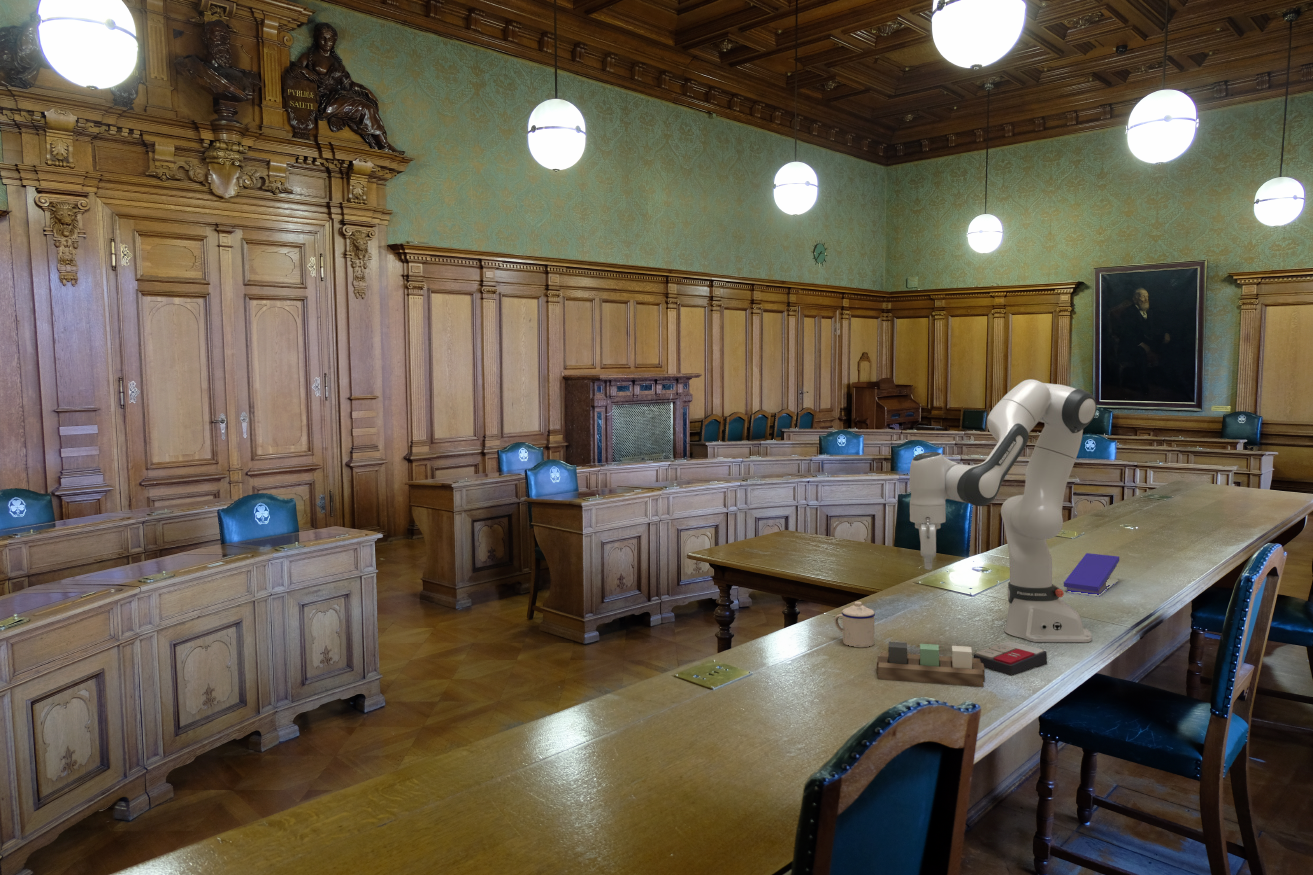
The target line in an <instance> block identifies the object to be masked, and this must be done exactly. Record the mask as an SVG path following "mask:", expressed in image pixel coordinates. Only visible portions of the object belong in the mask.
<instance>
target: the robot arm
mask: <svg viewBox="0 0 1313 875" xmlns="http://www.w3.org/2000/svg"><path fill="white" fill-rule="evenodd" d="M1097 410H1098V409H1097V402H1096V399H1095V396H1094V395H1093V394H1092V393H1091V392H1089V391H1087V390H1084V389H1081V388H1075V387H1072V386H1068V385H1065V384H1059V383H1057V384H1056V383H1047V382H1042V381H1039V380H1037V379H1025V380H1023V381H1021V382H1019V383H1018V384H1017V385H1016V386H1014V387H1013V388H1012V389H1010V390H1009V391H1008V392H1007V393H1006V394H1004V396H1003V397H1002V398H1001V399H1000V400H999V401H998V402H997V403H996V404H995V405H994V407H992V409H991V411H990V412H989V414H988V416H987V419H986V424H987V429H988V431H989V433H990V434H991V436H993V438H994V439H995V440H996V441H997V444H996V445H995V446H994V448H993V449H992V451H991V452H990V453H989V455H988V456H987V457H986V459H985V460H984V461H983V462H982V463H979V464H974V465H969V464H962V463H958V462H955V461H952V460H950V459H948V458H947V457H945V456H944V455H943V454H942V453H941V452H939V451H928V452H921V453H918V454H916V455H915V456H913V458H912V460H911V462H910V467H909V489H910V490H909V491H910V494H911V495H910V499H909V500H910V501H909V521H910V522H911V523H914V527H915V529H918V533H919V541H920V556H921V557H923V559H924V560H923V561H924V569H925V570H932V569H933V557H936V555H937V530H939V529H941V524H943V523H946V521H947V520H946V516H947V514H946V500H951V501H956V502H960V503H966V504H969V505H972V506H976V507H985V506H987V505H990V504H991V503H993V501H994V500H995V499H996V498H997V496H998V494H999V492H1000V490H1001V486H1002V484H1003V482H1004V480H1005V478H1006V477H1007V475H1008V474H1009V472H1010V471H1011V469H1012V468H1013V466H1014V465H1015V463H1016V462H1017V460H1018V459H1019V458H1020V456H1021V454H1022V453H1023V451H1024V450H1025V448H1026V446H1027V444H1028V442H1029V439H1030V432H1031V431H1032V430H1033V429H1034V428H1035V427H1036V425H1037V424H1038V423H1039V422H1041V423H1044V426H1043V428H1042V430H1041V432H1040V434H1039V436H1038V438H1037V440H1036V443H1035V444H1034V448H1033V451H1032V453H1031V456H1030V457H1029V461H1028V463H1027V466H1026V469H1025V472H1024V474H1025V482H1024V483H1025V484H1024V491H1023V494H1018V495H1014V496H1011V497H1008V498H1007V499H1006V500H1005V501H1004V502H1003V503H1002V505H1001V508H1000V515H1001V519H1002V521H1003V527H1004V533H1005V539H1006V543H1007V547H1008V548H1007V550H1008V557H1009V558H1008V559H1009V582H1008V583H1007V585H1008V586H1007V600H1008V608H1007V617H1006V622H1005V626H1004V628H1003V631H1004V632H1005V633H1006V634H1008V635H1011V636H1014V637H1015V638H1017V637H1018V638H1020V639H1024V640H1027V641H1030V642H1034V643H1089V642H1091V641H1092V640H1093V636H1092V633H1091V631H1090V630H1089V629H1087V628H1086V627H1084V626H1083V621H1082V618H1081V615H1080V614H1079V613H1078V611H1076V609H1074V608H1073V607H1072V606H1070V605H1069V604H1068V603H1067V602H1065V601H1064V600H1062V599H1061V598H1063V596H1065V593H1064V591H1063V590H1062V589H1061V588H1059V587H1058V586H1057V585H1054V584H1053V557H1052V554H1051V552H1050V549H1049V546H1048V543H1047V542H1048V541H1047V540H1050V539H1051V540H1052V539H1053V538H1055V537H1057V536H1058V535H1059V534H1060V532H1061V530H1062V529H1063V525H1064V519H1063V514H1062V513H1063V512H1062V511H1063V506H1064V498H1065V492H1066V487H1067V484H1068V481H1069V479H1070V478H1069V477H1070V475H1071V472H1072V470H1073V467H1074V464H1075V462H1076V460H1077V456H1078V454H1079V451H1080V448H1081V444H1082V440H1083V434H1084V433H1083V432H1084V429H1085V428H1086V427H1087V426H1088V425H1089V424H1090V423H1091V422H1092V421H1093V419H1094V418H1095V416H1096V413H1097Z"/></svg>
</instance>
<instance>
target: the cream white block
mask: <svg viewBox="0 0 1313 875" xmlns="http://www.w3.org/2000/svg"><path fill="white" fill-rule="evenodd" d="M951 657H952V668H965V669H972V658H973V651H972V647H971V646H967V645H966V646H963V645H951Z"/></svg>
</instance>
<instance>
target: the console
mask: <svg viewBox="0 0 1313 875" xmlns="http://www.w3.org/2000/svg"><path fill="white" fill-rule="evenodd" d="M876 658H877V659H876V675H878V680H887V681H900V682H901V681H902V682H915V683H927V684H939V685H940V684H942V685H954V686H966V687H967V686H968V687H976V688H977V687H981V688H984V686H985V685H984V683H985V682H986V681H985V680H986V679H985V673H986V672H985V669H986V668H984V665H983V663H981V661H980V659H977V658H973V657H972V669H965V668H952V656H946V655H939V667H937V666H923V665H920V654H915V653H914V654H912V653H907V664H895V663H889V659H888V651H887V652H884V651H883V652H882V651H880V652H879V655H877V657H876Z"/></svg>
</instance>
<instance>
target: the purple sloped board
mask: <svg viewBox="0 0 1313 875" xmlns="http://www.w3.org/2000/svg"><path fill="white" fill-rule="evenodd" d="M1119 562H1120V556H1117V555H1108V554H1099V553H1098V554H1097V553H1091V552H1086V553H1085V554H1084V556H1083V557H1082V558H1081V559H1080V561H1079V562H1078V563H1077V565H1076V566H1075V568H1073V570H1072V571H1071V573H1070V574H1069V575H1068V576H1067V577H1066V579H1065V580H1064V581H1063V587H1064V588H1066V592H1067V591H1071V592H1081V593H1088V594H1097V595H1099V594H1101V593H1102V592H1103V591H1104V590H1105V589H1107V587H1109V586H1110V585H1108V586H1106V582H1107V580H1108V579H1109V578H1111V575H1112V574H1113V573H1114V571H1115V569H1116V568H1117V565H1118V563H1119Z"/></svg>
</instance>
